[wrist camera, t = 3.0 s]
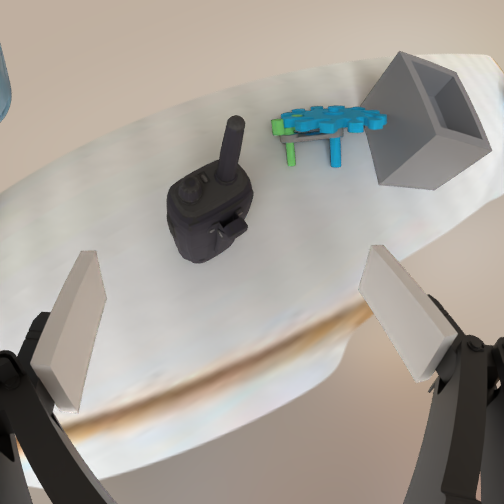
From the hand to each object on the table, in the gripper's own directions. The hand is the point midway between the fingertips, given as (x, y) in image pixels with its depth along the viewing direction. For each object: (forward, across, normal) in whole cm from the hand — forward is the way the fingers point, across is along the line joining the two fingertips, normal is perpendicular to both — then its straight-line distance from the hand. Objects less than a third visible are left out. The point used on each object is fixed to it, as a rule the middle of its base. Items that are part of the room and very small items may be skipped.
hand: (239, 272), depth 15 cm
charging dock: (+19, +20, +3) cm, 28 cm away
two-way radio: (+11, -1, -5) cm, 12 cm away
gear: (+19, +10, +3) cm, 21 cm away
